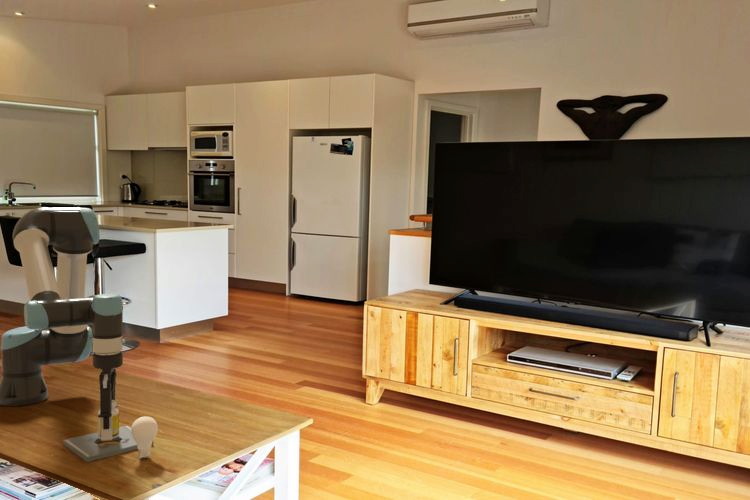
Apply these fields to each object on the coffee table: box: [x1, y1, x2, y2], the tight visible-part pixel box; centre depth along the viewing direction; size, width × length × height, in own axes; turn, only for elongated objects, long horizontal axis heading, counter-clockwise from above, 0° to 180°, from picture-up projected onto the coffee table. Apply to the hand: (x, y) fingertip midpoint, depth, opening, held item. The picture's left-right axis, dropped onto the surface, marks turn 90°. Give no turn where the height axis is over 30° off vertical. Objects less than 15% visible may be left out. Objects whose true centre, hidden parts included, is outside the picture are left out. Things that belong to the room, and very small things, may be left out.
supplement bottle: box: [97, 399, 120, 439], centre depth 185 cm, size 5×5×10 cm
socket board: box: [62, 425, 154, 463], centre depth 185 cm, size 16×18×1 cm
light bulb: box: [131, 415, 159, 459], centre depth 176 cm, size 7×7×11 cm
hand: (108, 435), depth 185 cm, fingers closed on supplement bottle, 5 cm apart
